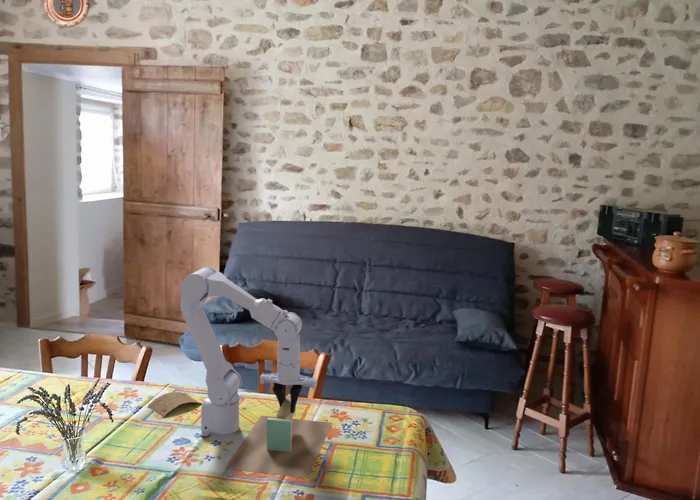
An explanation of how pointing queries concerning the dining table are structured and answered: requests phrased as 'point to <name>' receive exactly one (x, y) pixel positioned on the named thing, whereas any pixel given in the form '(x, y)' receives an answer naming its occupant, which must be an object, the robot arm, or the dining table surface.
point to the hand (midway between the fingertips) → (288, 411)
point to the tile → (279, 434)
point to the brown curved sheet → (169, 402)
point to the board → (292, 463)
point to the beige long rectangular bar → (286, 409)
